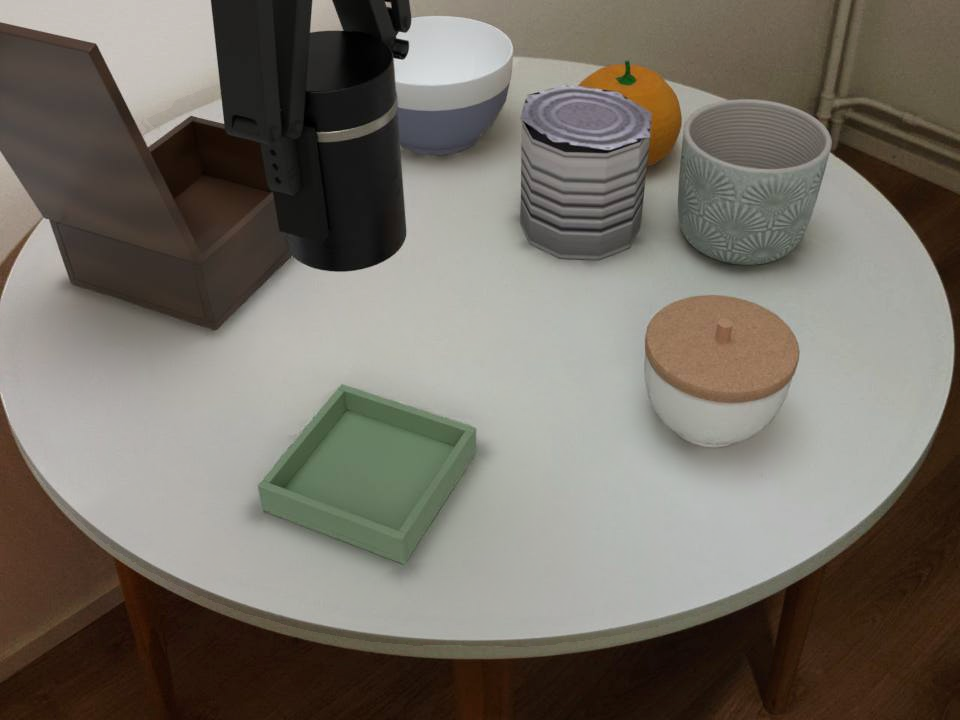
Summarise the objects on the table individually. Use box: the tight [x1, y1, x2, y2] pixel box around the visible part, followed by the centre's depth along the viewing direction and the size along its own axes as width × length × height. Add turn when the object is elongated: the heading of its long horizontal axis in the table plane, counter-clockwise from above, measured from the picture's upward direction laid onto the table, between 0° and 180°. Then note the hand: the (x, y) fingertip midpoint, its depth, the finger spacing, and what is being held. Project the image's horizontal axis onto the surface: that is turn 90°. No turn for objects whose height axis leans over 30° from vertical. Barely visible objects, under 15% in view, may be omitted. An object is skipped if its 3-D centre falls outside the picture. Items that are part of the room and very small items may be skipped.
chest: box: [48, 115, 293, 331], centre depth 95 cm, size 20×16×7 cm
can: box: [519, 84, 651, 261], centre depth 95 cm, size 11×11×12 cm
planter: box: [677, 98, 833, 266], centre depth 93 cm, size 12×12×11 cm
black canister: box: [280, 30, 408, 273], centre depth 58 cm, size 7×7×11 cm
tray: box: [257, 383, 477, 565], centre depth 74 cm, size 11×11×3 cm
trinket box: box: [643, 294, 800, 448], centre depth 76 cm, size 11×11×9 cm
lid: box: [0, 21, 202, 263], centre depth 77 cm, size 20×16×1 cm
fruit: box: [577, 60, 683, 167], centre depth 105 cm, size 12×12×10 cm
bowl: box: [394, 15, 515, 156], centre depth 109 cm, size 16×16×10 cm
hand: (341, 196), depth 60 cm, fingers closed on black canister, 7 cm apart
